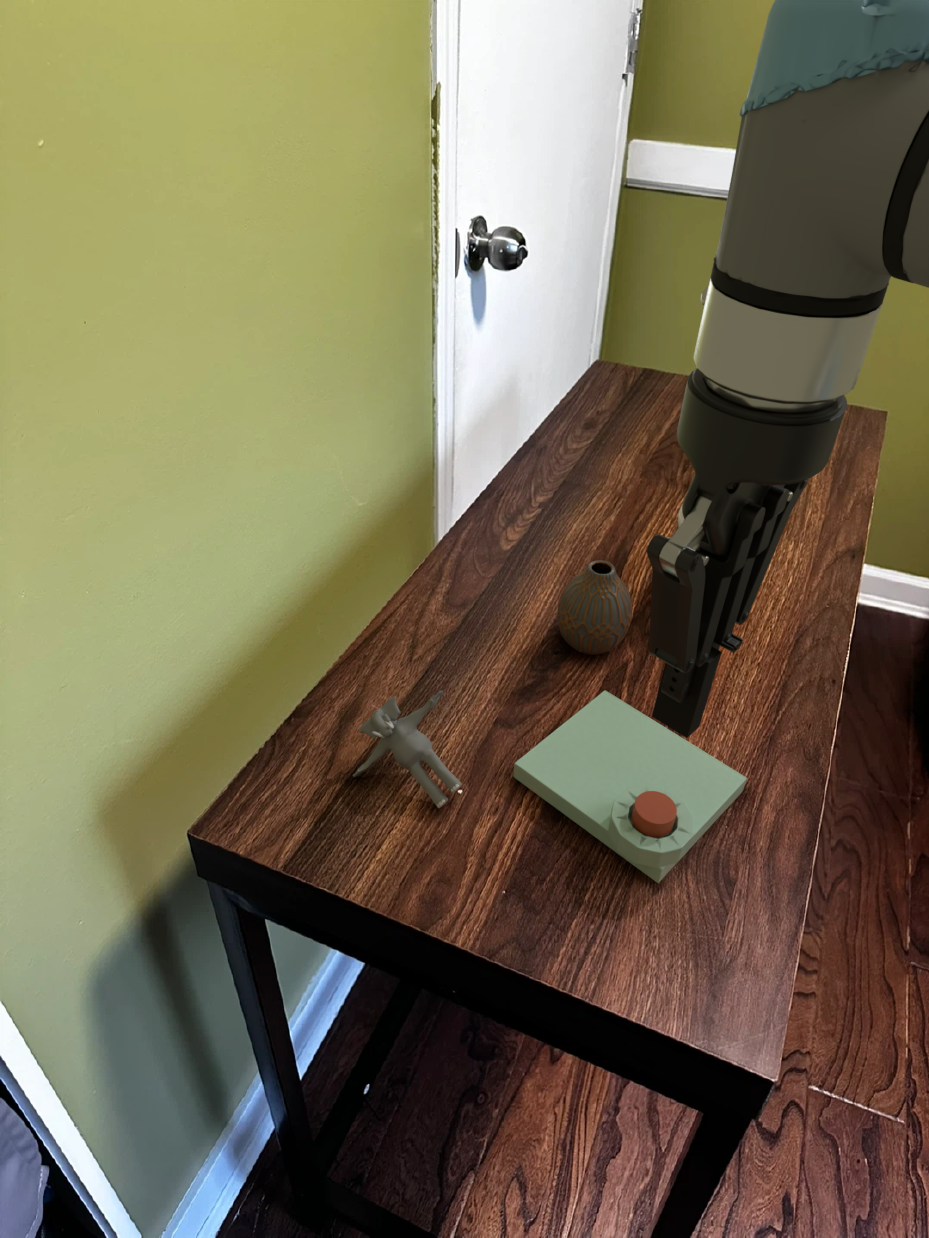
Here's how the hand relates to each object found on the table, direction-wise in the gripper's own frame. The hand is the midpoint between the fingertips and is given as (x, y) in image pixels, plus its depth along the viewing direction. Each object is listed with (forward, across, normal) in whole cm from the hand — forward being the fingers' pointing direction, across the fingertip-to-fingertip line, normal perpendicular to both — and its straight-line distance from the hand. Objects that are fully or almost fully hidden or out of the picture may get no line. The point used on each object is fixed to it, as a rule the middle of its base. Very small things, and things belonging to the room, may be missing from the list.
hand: (675, 721), depth 56 cm
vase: (+14, -16, -17) cm, 27 cm away
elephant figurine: (+14, +7, -17) cm, 23 cm away
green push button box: (+13, -4, -4) cm, 15 cm away
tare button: (+10, 0, 0) cm, 10 cm away
